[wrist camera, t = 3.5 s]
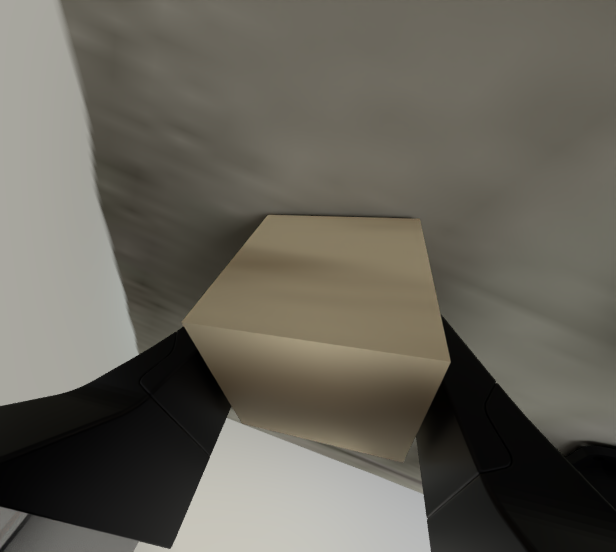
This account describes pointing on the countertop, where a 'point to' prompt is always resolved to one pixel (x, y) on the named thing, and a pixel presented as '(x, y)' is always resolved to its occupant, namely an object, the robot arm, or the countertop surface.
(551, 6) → the countertop surface
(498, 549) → the robot arm
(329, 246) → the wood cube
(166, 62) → the countertop surface
